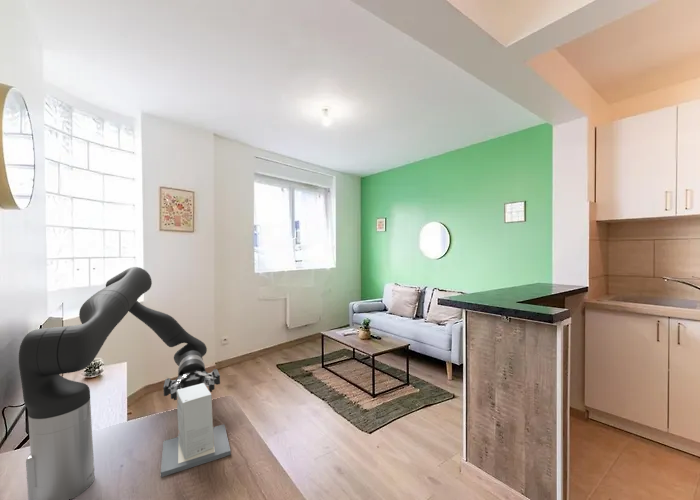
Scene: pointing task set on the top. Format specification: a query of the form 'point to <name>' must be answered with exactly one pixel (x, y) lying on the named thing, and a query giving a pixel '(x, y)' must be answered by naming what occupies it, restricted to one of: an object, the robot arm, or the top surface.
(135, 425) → the top surface
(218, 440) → the base board
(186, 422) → the small box
